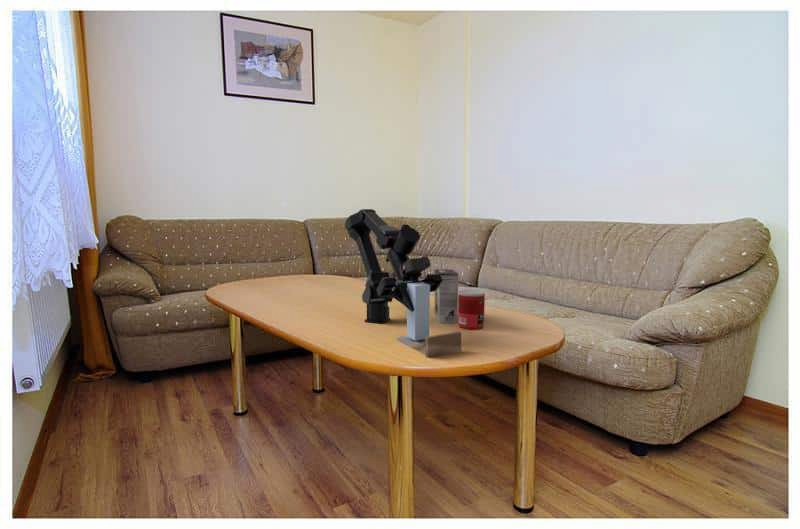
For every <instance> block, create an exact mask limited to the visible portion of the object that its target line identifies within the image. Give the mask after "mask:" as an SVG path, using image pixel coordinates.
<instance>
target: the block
mask: <svg viewBox="0 0 800 529" xmlns="http://www.w3.org/2000/svg"><path fill="white" fill-rule="evenodd" d="M407 292H408V295H409V297H410V299H411V302H412V304H413V307H414V311H413V312H411V311H410V310H409V309H408V308H407V307H406V336H407V337H409V338H411V339H413V340H415V341H417V340H423V339H425V337H426V336H430V315H431V314H430V310H431V309H430V300H431V296H430V295H431V292H430V285H429V284H426V283H423V282H417V283H407Z"/></svg>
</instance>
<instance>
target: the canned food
mask: <svg viewBox="0 0 800 529" xmlns="http://www.w3.org/2000/svg"><path fill="white" fill-rule="evenodd" d="M485 298H486V297H485V291H482V290H479V289H478V290H477V289H461V290H460V291H459V290H458V317H457V325H458V328H460V329H463V330H466V329H468V330H469V331H476V330H477V329H479V330H482V329H483V328H484V327H485V300H486V299H485Z"/></svg>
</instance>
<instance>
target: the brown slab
mask: <svg viewBox="0 0 800 529" xmlns="http://www.w3.org/2000/svg"><path fill="white" fill-rule="evenodd" d="M411 348H412V349H413V350H416V351H418V352H419V353H421V354H423V355H425V357H426V358H433V357H438V356H444V355H445V356H446V355H449V354H455V353H461V352H462V332H461V331H453V332H447V333H440V334H439V333H438V334H435V335H429V336H426V337H425V346H424V345H422V344H420V343H418V342H412V347H411Z"/></svg>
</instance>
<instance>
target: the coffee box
mask: <svg viewBox="0 0 800 529" xmlns="http://www.w3.org/2000/svg"><path fill="white" fill-rule="evenodd" d="M436 273H438V274H440V275H441V277H442V279H443V281H442V282H441V284H440V285H439V287H438V288H437V290H436V291H434V317H435V319H436V321H437V322H438V324H458V294H459V273H458V272H457V271H455V270H454V269H445V268H444V269H443V268H442V269H441V268H440V269H434V274H436Z"/></svg>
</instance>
